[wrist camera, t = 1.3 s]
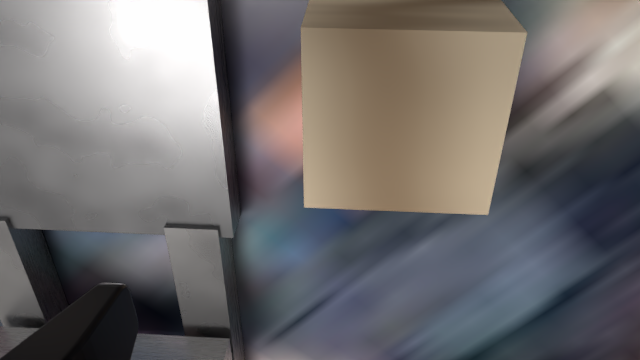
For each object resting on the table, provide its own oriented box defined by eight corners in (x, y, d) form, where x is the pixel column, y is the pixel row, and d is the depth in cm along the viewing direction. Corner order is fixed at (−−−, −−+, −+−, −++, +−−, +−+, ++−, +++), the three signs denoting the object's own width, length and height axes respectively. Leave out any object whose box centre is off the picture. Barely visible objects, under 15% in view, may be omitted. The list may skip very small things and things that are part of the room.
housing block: (484, -21, 16) (527, 32, 12) (459, 128, 19) (487, 214, 14) (316, -24, 16) (300, 27, 12) (316, 124, 19) (304, 207, 15)
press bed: (210, -99, 15) (195, -91, 14) (258, 393, 27) (252, 424, 26) (-159, -102, 16) (-211, -96, 14) (50, 381, 28) (33, 410, 27)
